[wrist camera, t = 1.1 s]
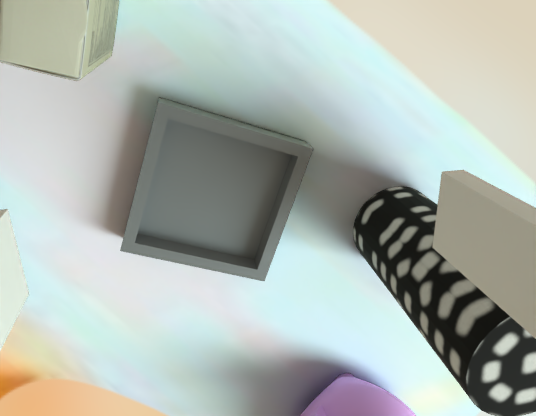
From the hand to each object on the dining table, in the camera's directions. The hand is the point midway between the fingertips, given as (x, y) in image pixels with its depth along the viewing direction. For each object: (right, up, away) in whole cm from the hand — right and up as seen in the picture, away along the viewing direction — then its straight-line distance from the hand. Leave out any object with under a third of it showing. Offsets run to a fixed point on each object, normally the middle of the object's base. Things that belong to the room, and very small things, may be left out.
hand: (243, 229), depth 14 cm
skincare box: (-13, +15, +21) cm, 29 cm away
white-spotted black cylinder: (+13, -1, +32) cm, 35 cm away
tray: (-4, +2, +27) cm, 28 cm away
